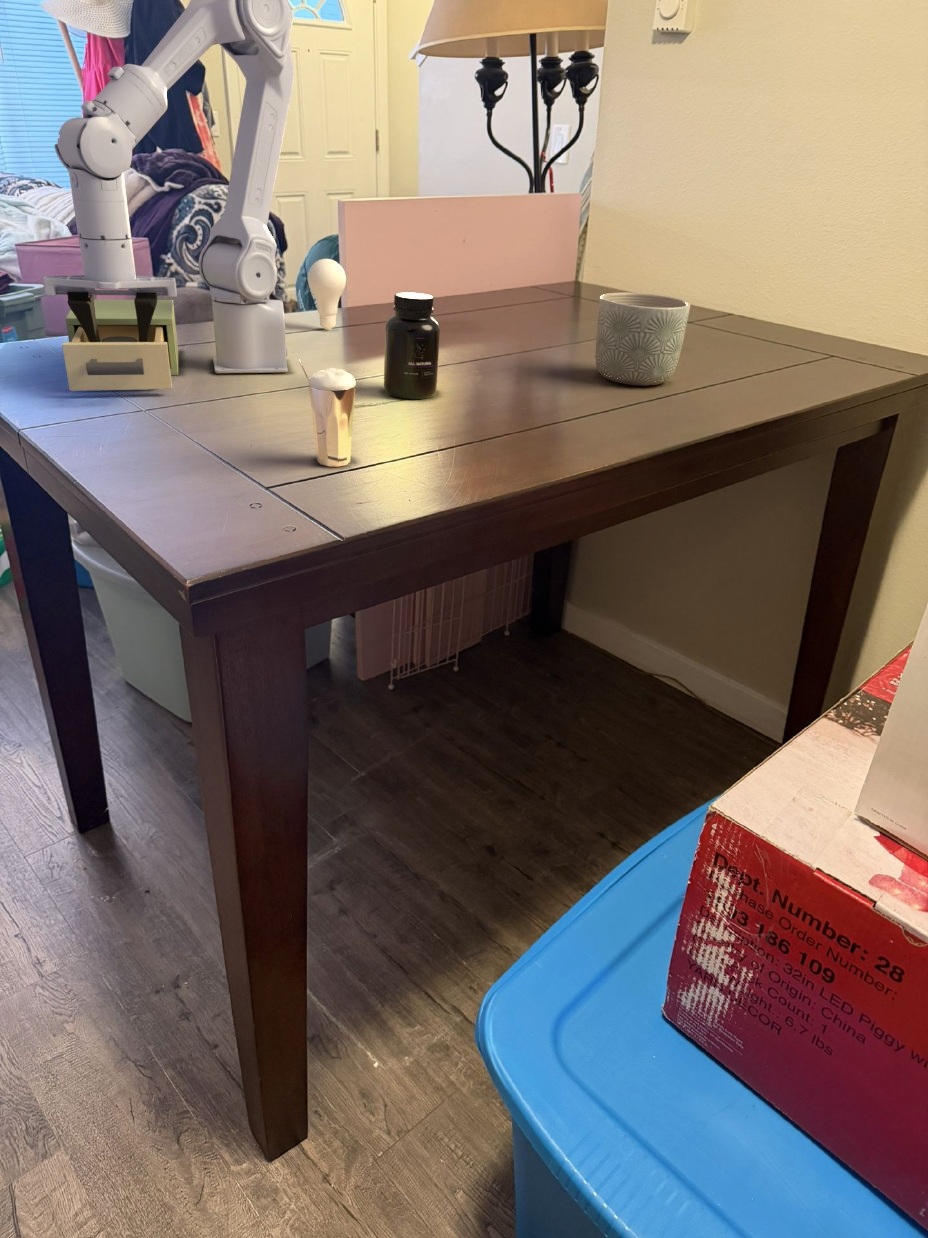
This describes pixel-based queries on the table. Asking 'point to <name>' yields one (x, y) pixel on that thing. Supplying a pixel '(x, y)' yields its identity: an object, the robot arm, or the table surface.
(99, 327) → the drawer
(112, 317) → the cabinet
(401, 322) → the supplement bottle
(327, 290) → the lightbulb
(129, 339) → the cap
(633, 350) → the planter
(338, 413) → the milkshake
